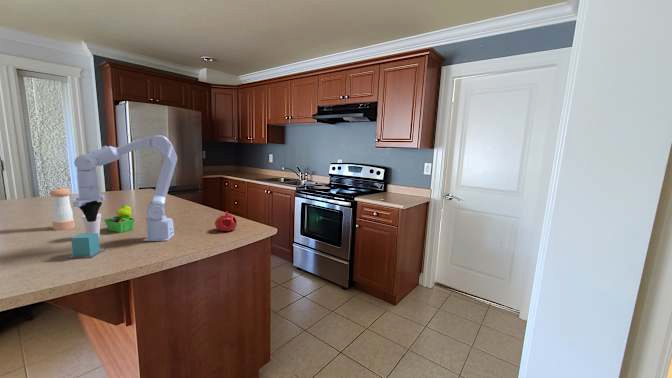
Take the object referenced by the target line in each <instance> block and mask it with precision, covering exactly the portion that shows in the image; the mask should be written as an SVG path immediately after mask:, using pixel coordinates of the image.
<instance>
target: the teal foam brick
mask: <svg viewBox="0 0 672 378" xmlns="http://www.w3.org/2000/svg"><path fill="white" fill-rule="evenodd" d="M100 246H101V245H100V235H98V233H85V232H84V233H83V232H82V233H80V234H77V235H74V236H73V237H71V248H72V255H73V256H90V255H92V254H94V253H96V252H98V251H99V250H100V249H101V248H100Z"/></svg>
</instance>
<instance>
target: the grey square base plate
mask: <svg viewBox="0 0 672 378" xmlns="http://www.w3.org/2000/svg"><path fill="white" fill-rule="evenodd" d="M103 252H105V249H103V248H102V249H101V248H100V250H99V251H98V252H96V253H94V254H92V255H90V256H73V254H71V255H70V256H68V259H93V258H95V257H96V256H97V255H100V254H101V253H103Z"/></svg>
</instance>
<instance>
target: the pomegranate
mask: <svg viewBox="0 0 672 378" xmlns="http://www.w3.org/2000/svg"><path fill="white" fill-rule="evenodd" d="M237 226H238V221H237V219H236V217H235V216H234V215H232V214H231V213H229V212H228V210H227V211H225V214H222V213H221V214H218V217H217V218H216V220H215V222H214V227H215V229H216V230H217V231H220V232H222V231H228V232H232V231H234V230H235V229H236V228H237ZM231 230H232V231H231Z"/></svg>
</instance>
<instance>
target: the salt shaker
mask: <svg viewBox="0 0 672 378" xmlns="http://www.w3.org/2000/svg"><path fill="white" fill-rule="evenodd" d="M71 194H72V191H71V190H70V189H69V188H65V187H64V188H63V187H62V186H59V187H57V188H53V189H51V190H50V191H49V196H50V197H52V219H53V221H52V229H53V230H54V231H61V230H69V229H74V228H75V226H76V225H75V219H74V213H73V209H72V206H71V201H70V200H71V199H70V195H71Z"/></svg>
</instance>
